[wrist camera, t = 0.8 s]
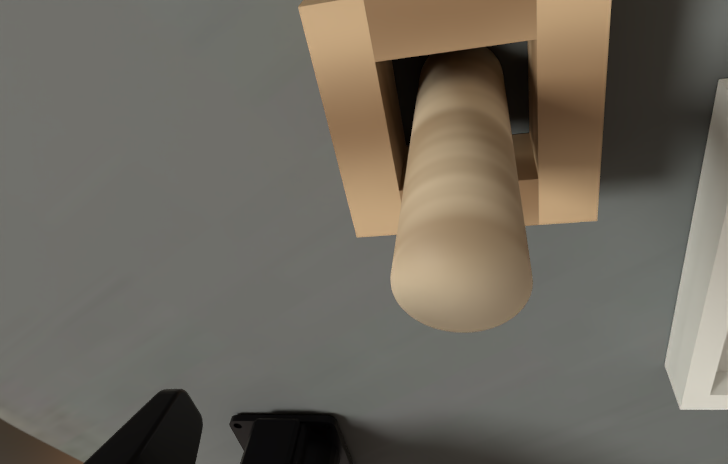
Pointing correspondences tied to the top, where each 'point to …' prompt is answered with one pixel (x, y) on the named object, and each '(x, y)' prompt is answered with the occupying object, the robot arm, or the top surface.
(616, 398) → the top surface
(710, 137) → the tray
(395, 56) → the holder
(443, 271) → the dowel
